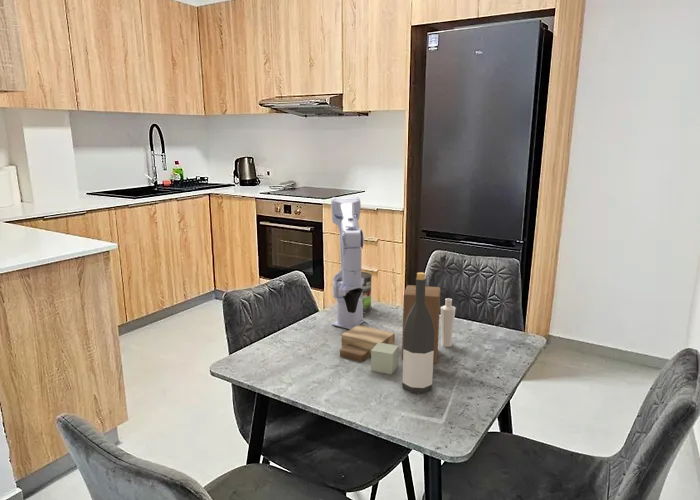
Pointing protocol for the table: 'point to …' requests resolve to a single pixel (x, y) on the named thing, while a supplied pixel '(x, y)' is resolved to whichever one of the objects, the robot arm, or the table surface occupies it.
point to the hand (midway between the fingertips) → (351, 311)
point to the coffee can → (366, 291)
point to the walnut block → (355, 352)
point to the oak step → (367, 337)
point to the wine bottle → (418, 344)
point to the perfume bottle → (447, 323)
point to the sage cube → (384, 358)
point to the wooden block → (432, 305)
